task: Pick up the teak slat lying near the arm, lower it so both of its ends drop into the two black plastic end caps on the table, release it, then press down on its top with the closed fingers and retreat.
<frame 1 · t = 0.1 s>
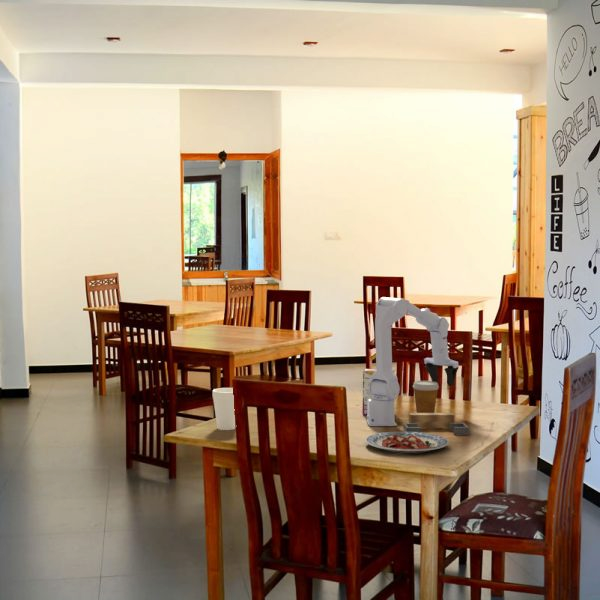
hand: (443, 384, 340), 11 cm above the table, tool pointing down, fingers open, 7 cm apart
end cap b: (458, 432, 307), on the table
ceramic plate: (406, 447, 287), on the table
foam cup: (226, 428, 313), on the table
slat: (431, 428, 314), on the table
end cap a: (413, 432, 306), on the table
disposable coffee cup: (425, 415, 335), on the table
candy bar box: (378, 415, 337), on the table
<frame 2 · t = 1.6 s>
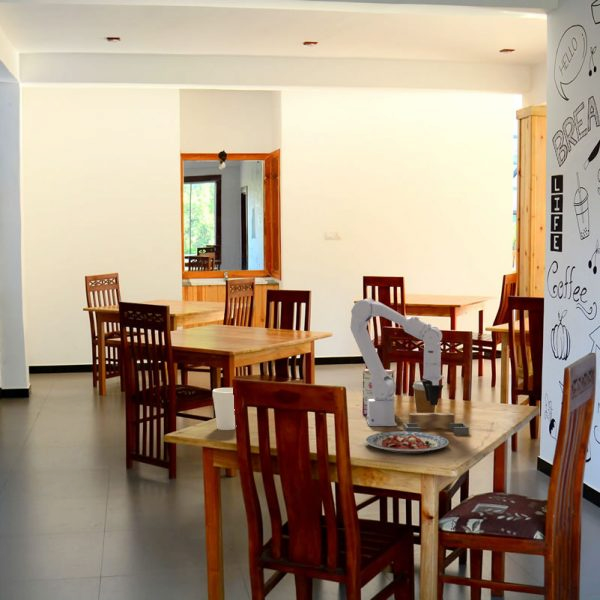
hand: (431, 402, 314), 9 cm above the table, tool pointing down, fingers open, 7 cm apart
nothing on the table moved.
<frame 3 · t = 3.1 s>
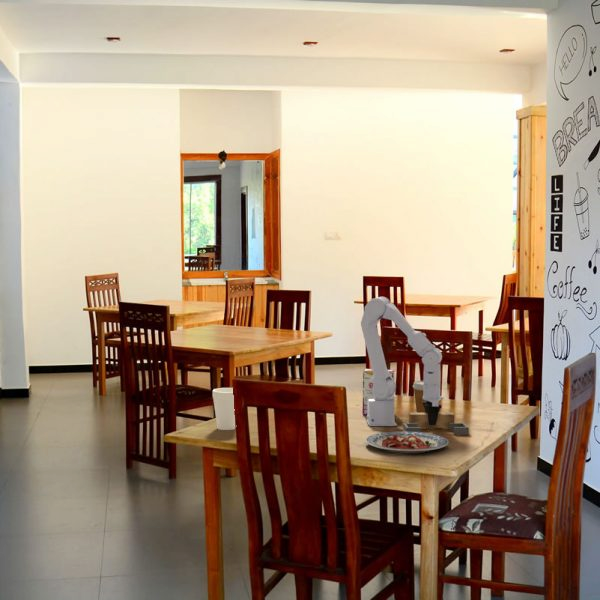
hand: (431, 423, 314), 1 cm above the table, tool pointing down, fingers closed on slat, 3 cm apart
slat: (431, 428, 314), on the table, touching gripper
everything else where it was.
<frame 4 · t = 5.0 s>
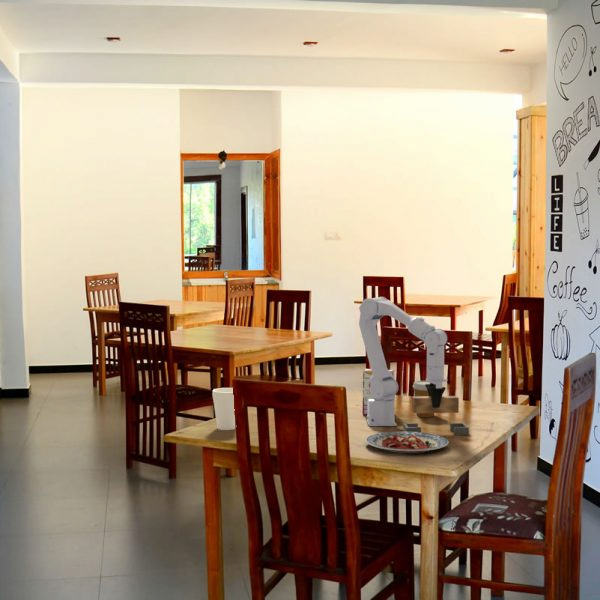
hand: (434, 406, 308), 8 cm above the table, tool pointing down, fingers closed on slat, 3 cm apart
slat: (435, 411, 308), point 7 cm above the table, touching gripper
everything else where it was.
when the fingers open (3 cm above the table, at t = 7.0 s): slat drops 1 cm, on the table.
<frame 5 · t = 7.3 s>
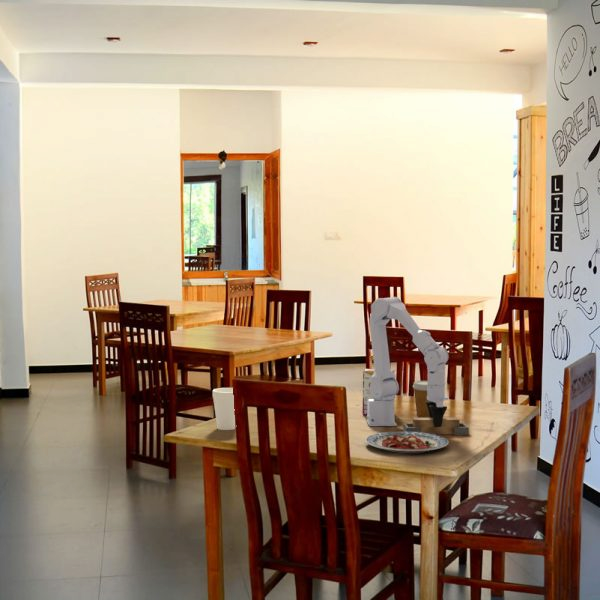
hand: (435, 424, 306), 3 cm above the table, tool pointing down, fingers open, 6 cm apart
slat: (435, 433, 306), on the table
everything else where it was.
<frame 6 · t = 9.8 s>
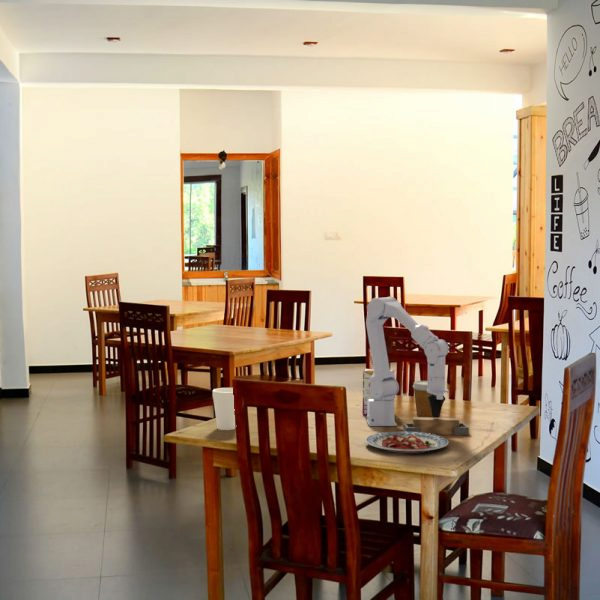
hand: (435, 417, 306), 5 cm above the table, tool pointing down, fingers closed
nothing on the table moved.
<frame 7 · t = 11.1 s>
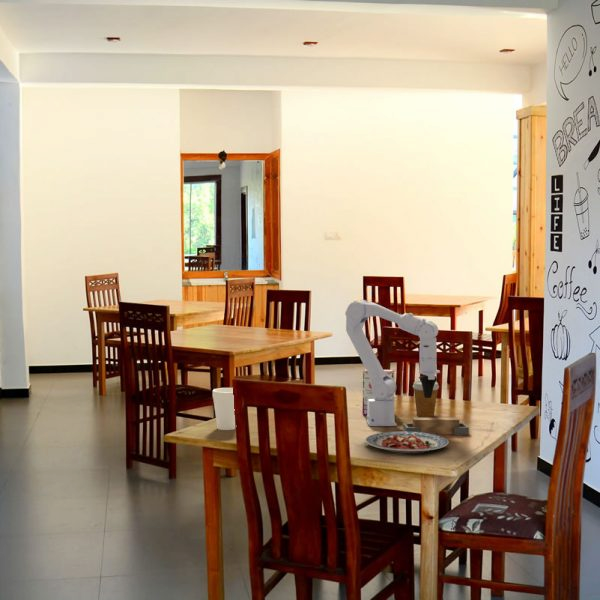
hand: (427, 397, 314), 10 cm above the table, tool pointing down, fingers closed
nothing on the table moved.
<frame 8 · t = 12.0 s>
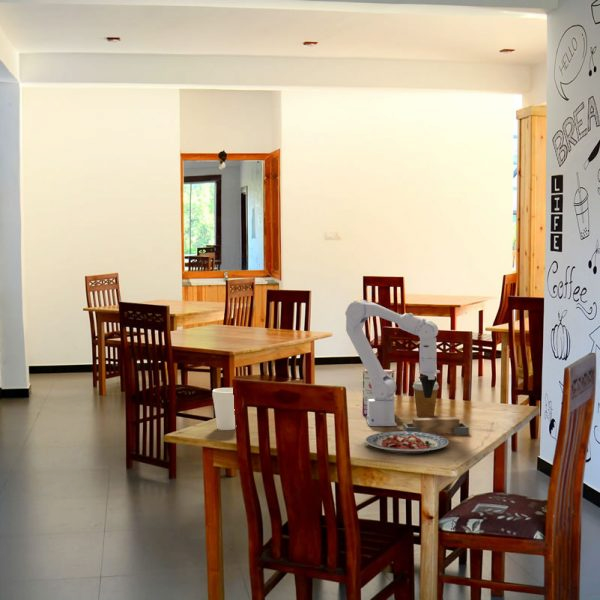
hand: (427, 397, 314), 10 cm above the table, tool pointing down, fingers closed
nothing on the table moved.
at the end: slat 0.1 cm from the target spot, on the table; slat tilted 0°; the gripper is holding nothing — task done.
